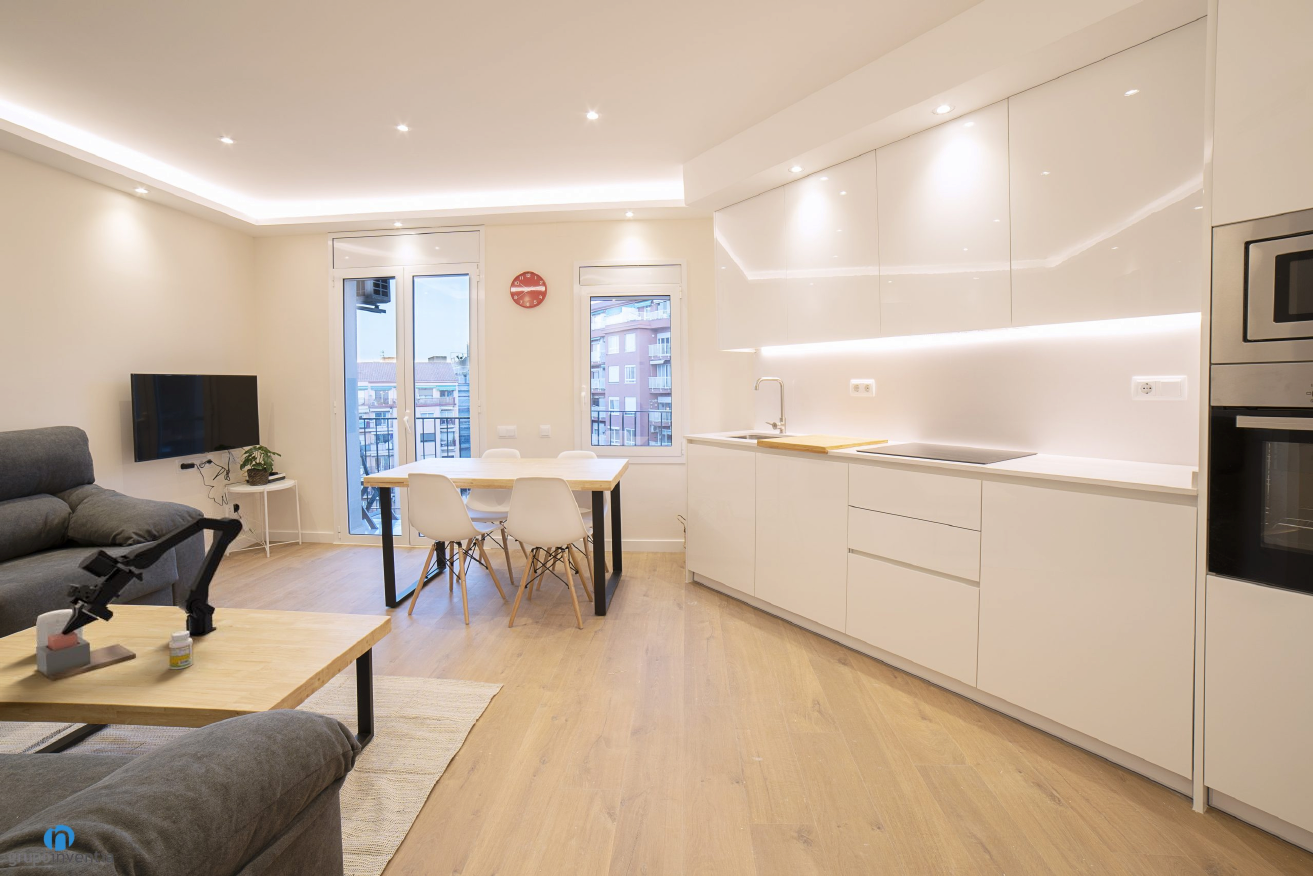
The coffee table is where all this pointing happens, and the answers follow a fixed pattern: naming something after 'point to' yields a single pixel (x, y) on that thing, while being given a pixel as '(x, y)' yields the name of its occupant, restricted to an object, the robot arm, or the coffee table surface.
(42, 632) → the photo printer
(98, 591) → the robot arm
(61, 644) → the plug
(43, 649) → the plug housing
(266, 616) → the coffee table surface
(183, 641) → the supplement bottle
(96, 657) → the board
